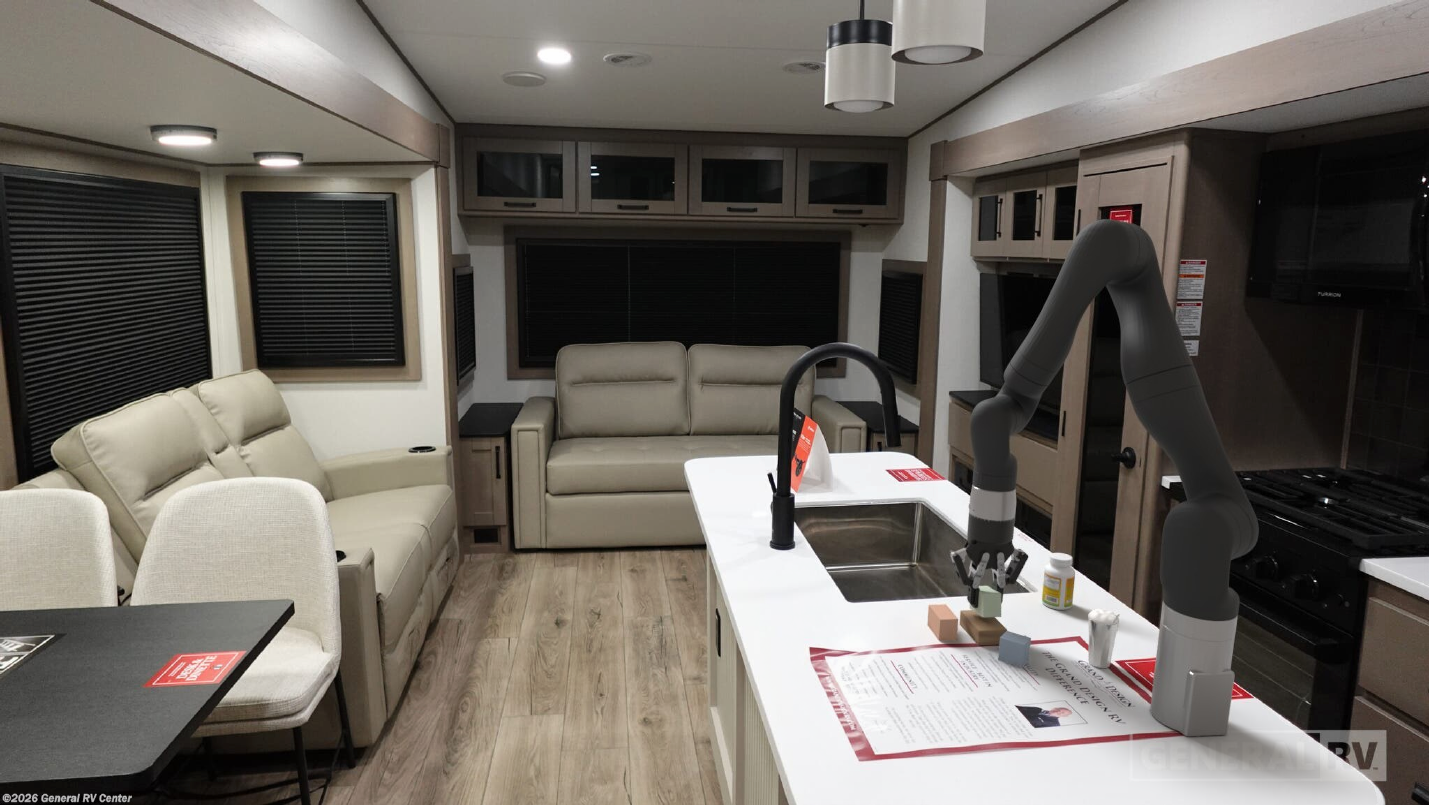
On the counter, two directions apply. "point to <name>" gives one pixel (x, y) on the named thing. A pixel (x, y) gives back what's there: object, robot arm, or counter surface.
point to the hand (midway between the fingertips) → (984, 605)
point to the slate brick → (1014, 648)
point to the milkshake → (1101, 637)
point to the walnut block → (981, 628)
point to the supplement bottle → (1058, 582)
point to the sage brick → (988, 603)
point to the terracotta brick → (942, 622)
